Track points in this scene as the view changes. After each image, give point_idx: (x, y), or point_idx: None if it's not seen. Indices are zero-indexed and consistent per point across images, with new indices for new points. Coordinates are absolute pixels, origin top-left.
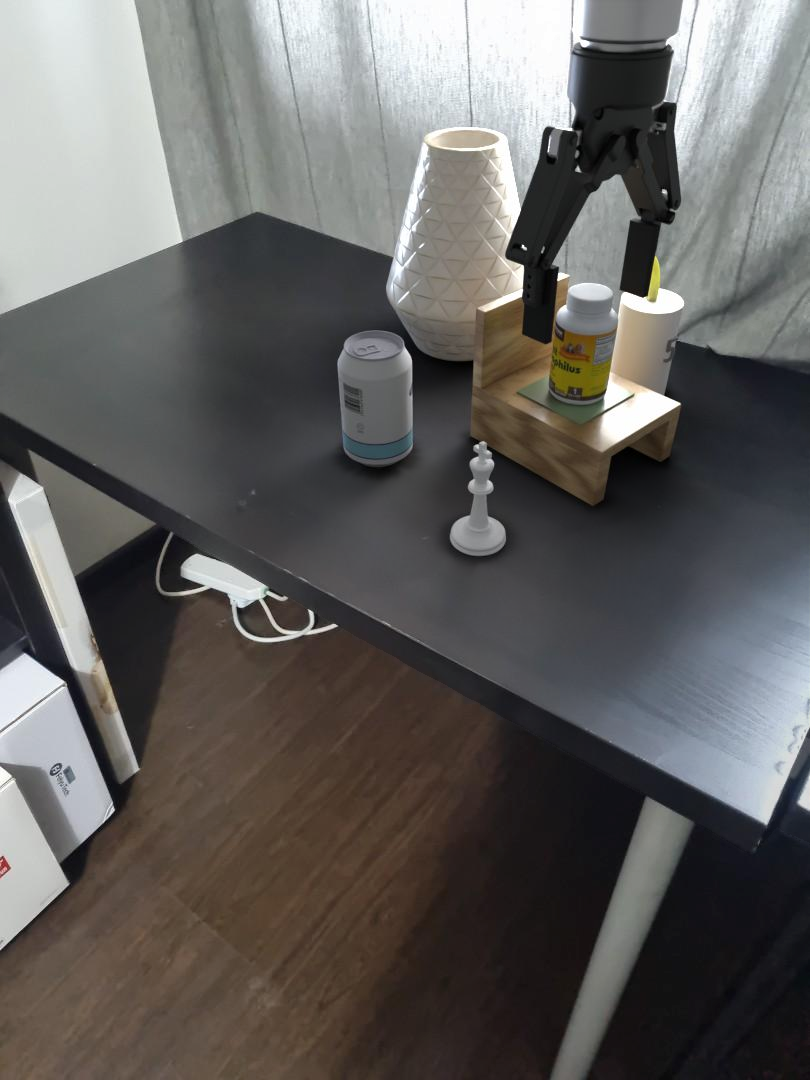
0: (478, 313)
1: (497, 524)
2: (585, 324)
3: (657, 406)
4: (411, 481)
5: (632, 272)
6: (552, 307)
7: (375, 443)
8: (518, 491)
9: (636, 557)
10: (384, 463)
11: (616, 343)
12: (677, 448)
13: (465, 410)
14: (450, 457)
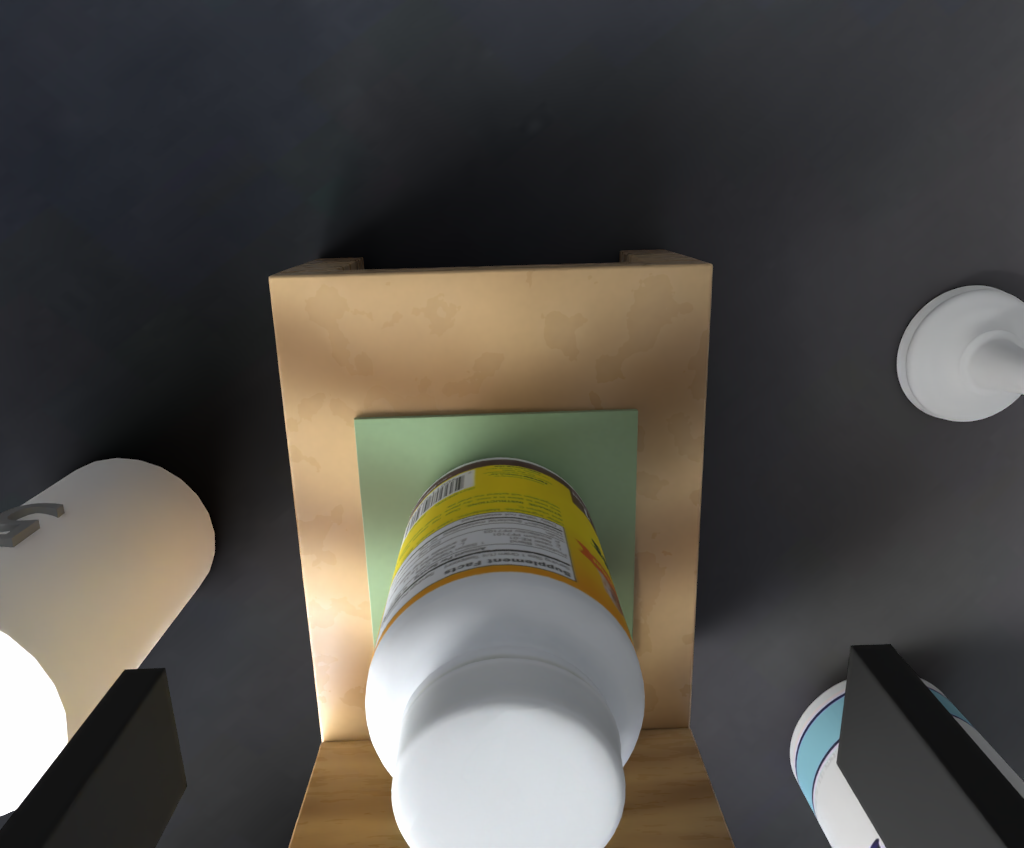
0: None
1: (934, 341)
2: (608, 658)
3: (350, 321)
4: (893, 605)
5: (129, 821)
6: (970, 767)
7: (976, 730)
8: (748, 418)
9: (758, 25)
10: (925, 681)
11: (138, 664)
12: (267, 268)
13: None
14: (755, 618)
